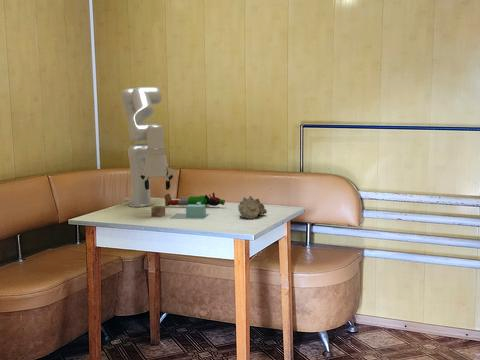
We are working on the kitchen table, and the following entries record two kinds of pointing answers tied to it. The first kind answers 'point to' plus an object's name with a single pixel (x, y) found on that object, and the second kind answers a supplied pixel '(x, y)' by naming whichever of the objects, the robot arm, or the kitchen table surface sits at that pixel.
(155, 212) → the walnut block
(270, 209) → the kitchen table surface
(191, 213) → the teal brick
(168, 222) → the kitchen table surface
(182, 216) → the build board
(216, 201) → the toy
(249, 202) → the seashell
